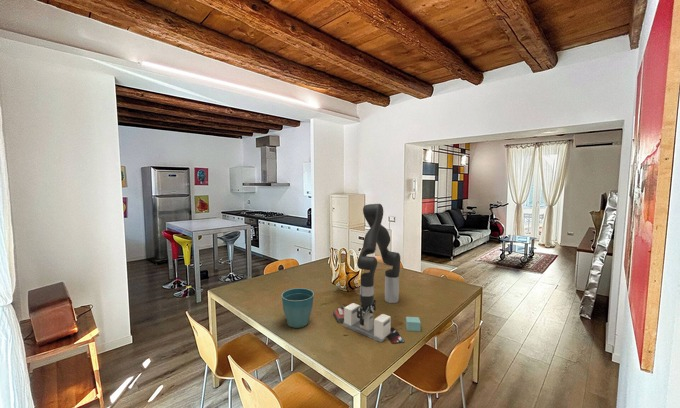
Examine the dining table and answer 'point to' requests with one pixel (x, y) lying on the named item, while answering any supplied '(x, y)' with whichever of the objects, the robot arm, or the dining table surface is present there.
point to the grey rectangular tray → (364, 331)
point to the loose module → (367, 321)
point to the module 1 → (351, 314)
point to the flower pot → (297, 306)
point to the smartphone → (395, 337)
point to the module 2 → (382, 326)
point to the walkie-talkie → (339, 314)
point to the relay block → (413, 324)
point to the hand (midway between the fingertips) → (366, 321)
